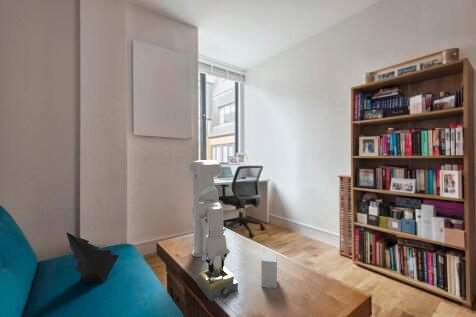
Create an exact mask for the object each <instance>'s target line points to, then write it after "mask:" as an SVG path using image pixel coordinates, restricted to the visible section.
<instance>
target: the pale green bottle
mask: <svg viewBox="0 0 476 317" xmlns="http://www.w3.org/2000/svg"><path fill="white" fill-rule="evenodd" d="M212 264H213V273H211V276H212V277H214V278H218V277H220V276H221V275H222V259H221V255H219V256H215V258H213V261H212Z"/></svg>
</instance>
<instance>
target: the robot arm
mask: <svg viewBox="0 0 476 317" xmlns="http://www.w3.org/2000/svg"><path fill="white" fill-rule="evenodd" d="M188 165H189V166H188V168H189V170H188V171H189V173H190V176H191V179H192V189H193V191H192V192H193V206H192V208H191V215H192V223H193V249H192V251H191V255H192V256H193V257H195V258H201V260H202V261H204V262H206V264H208V265H207V266H208V267H207V268H208V270H209V271H210V272H211V273H213V264H212V261H213V258H215V256H219V255H221V259H222V269H224V268H225V261H226V258H227V256H228V255H229V253H230V252H231V251H230V249H229V248H228V247H227V240H226V235H225V231H226V230H227V229H226V227H224V207H223V205H222V204H221V203H220V201H219V200H220V199H219V191H218V189H217V187H216V184H215V178H216V177H217V178H218V177H221V176H222V174H223V168H222V165H221V163H220V162H218V161H217V160H213V159H211V160H210V159H209V160H193V161H190V163H189V164H188ZM205 202H206V203H205ZM206 219H207V221H206Z"/></svg>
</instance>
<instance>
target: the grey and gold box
mask: <svg viewBox="0 0 476 317" xmlns="http://www.w3.org/2000/svg"><path fill="white" fill-rule="evenodd" d="M198 274H199V275H198ZM198 274H197V275H195V276H196V277H195V278H196V280H195V281H196V283H197V284H198V285H197V284H196V283H195V284H196V285H197V287H198V288H199V289H200V290H201V291H202V293H203V294H204V295H205V296H206V298H207V299H208V300H209V302H210V303H212V302H214V301H216V300H215V299H217V298H219V299H221V298H227V297H229V295H231V294H233V293H235V291H236V292H237V291H239V283H238V281H237V280H236V279H235V275H234V274H233V273H232V272H230V271H229V270H228V269H227V268H226V267H224V269H222V275H221V276H220V277H218V278H214V277H212V276H211V272H210V271H209V270H208V269H205V270H202V271H199V273H198ZM232 292H233V293H232ZM230 293H231V294H230ZM222 296H224V297H222ZM220 297H221V298H220ZM217 300H218V299H217Z"/></svg>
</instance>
